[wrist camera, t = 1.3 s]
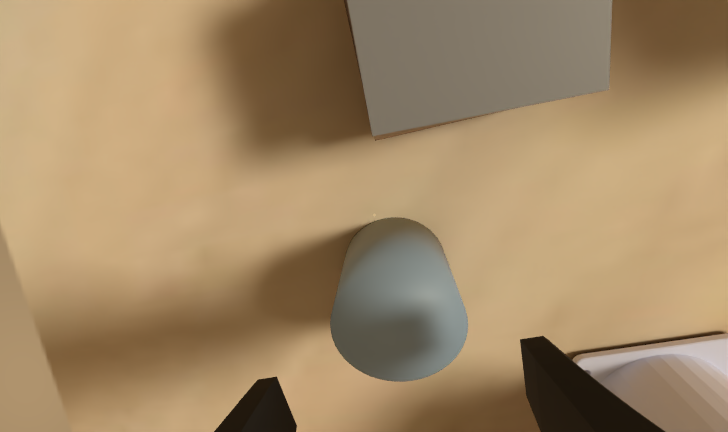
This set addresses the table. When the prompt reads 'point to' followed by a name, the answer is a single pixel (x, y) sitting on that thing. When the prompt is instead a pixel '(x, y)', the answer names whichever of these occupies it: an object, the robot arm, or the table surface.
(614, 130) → the table surface
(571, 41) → the block
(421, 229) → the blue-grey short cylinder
